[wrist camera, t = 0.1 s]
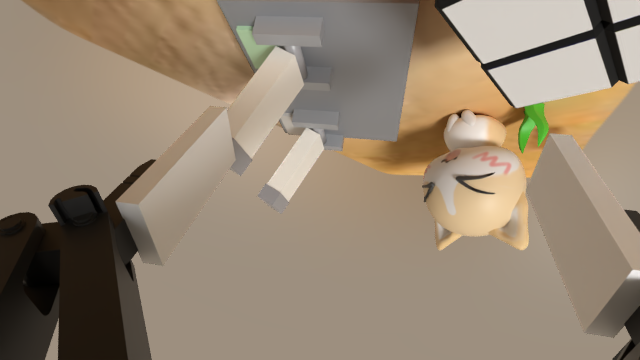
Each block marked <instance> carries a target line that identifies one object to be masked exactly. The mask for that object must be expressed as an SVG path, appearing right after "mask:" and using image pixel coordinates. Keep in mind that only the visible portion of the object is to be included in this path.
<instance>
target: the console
mask: <svg viewBox="0 0 640 360" xmlns="http://www.w3.org/2000/svg"><path fill="white" fill-rule="evenodd" d="M217 2H218V4H219V6H220V8H221V10H222V12H223V14H224V16H225V17H226V19H227V21H228V23H229V25H230V27H231V29H232V31H233V33H234V35H235V37H236V39H237V41H238V42H239V44H240V46H241V48H242V50H243V52H244V54H245V56H246V58H247V60H248V62H249V64H250V66H251V67H252V69H253V71H254V73H256V72H257V70H258V69H259V68H260V66H261V65H262V64H263V62H264V61H265V60H266V58H267V57H268V56H269V54H270V53H271V52H272V50H273V49H274V48H275V46H277V47H279V48H281V49H283V50H285V47H284V46H301V50H302V53H303V57H304V61H305V64H306V68H307V71H308V77H307V78H306V79H305V80H303V82H304V86H303V87H302V89H301V90H300V92H299V93H298V94H297V96H296V97H295V99H294V100H293V101H292V103H291V104H290V105H289V107H288V108H287V110H286V111H285V112H284V114H283V115H282V117H281V118H280V119H279V121H280V123H281V125H282V127H283V129H284V131H285V132H286V133H288V134H291V135H302V133H303V132H304V130H305V129H306V128H309V129H311V130H312V131H313V128H315V129H324V132H325V135H326V139H327V142H326V143H325V144H324V145H323V146H324V150H335V151H342V150H343V143H344V137H345V138H358V139H371V140H384V141H397V136H398V130H399V124H400V118H401V112H402V106H403V99H404V93H405V87H406V81H407V75H408V69H409V62H410V56H411V50H412V44H413V38H414V31H415V25H416V19H417V13H418V7H419V0H217ZM285 51H286V50H285Z"/></svg>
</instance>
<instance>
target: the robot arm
mask: <svg viewBox="0 0 640 360" xmlns="http://www.w3.org/2000/svg"><path fill="white" fill-rule="evenodd" d="M235 160H236V158H235V153H234V147H233V141H232V136H231V130H230V125H229V119H228V114H227V108H225V107H214V106H210V107H209V108H208V109H207V110H206V111H205V112H204V113H203V114H202V115H201V116H200V117H199V118H198V119H197V120H196V121H195V122H194V123H193V124H192V125H191V126H190V127H189V128H188V129H187V130H186V131H185V132H184V133H183V134H182V135H181V136H180V137H179V138H178V139H177V140H176V141H175V142H174V143H173V144H172V145H171V146H170V147H169V148H168V149H167V150H166V151H165V152H164V153H163V154H162V155H161V156H160V157H159V158H158V159H157V160H150V161H148V162H146V163H144V164H142V165H141V166H139V167H138V168H137V169H136V170H135V171H134V172H132V173H131V175H130V176H129V177H127V178H126V179H125V180H124V181H123V183H121V184H120V185H119V186H118V187H117V188H116V189H115V190H114V191H113V192H112V193H111V194H110V195H109V196H108V197H107V198H105V200H102V198H101V196H100V194H99V192H98V190H97V188H96V187H94V186H91V185H80V186H74V187H71V188H68V189H66V190H64V191H62V192H60V193H58V194H57V195H55V196H54V197H53V198H52V199H51V201H50V203H49V207H50V209H51V211H52V212H53V214H54V216H55V217H56V219H57V220H58V222H54V223H45V224H41V222H40V221H39V219H38V218H37V216H36V215H35V214H33V213H29V212H26V213H18V214H14V215H10V216H7V217H5V218H3V219H1V220H0V360H45V357H46V354H47V351H48V348H49V345H50V342H51V339H52V336H53V333H54V330H55V327H56V324H57V321H58V318H59V338H58V340H59V341H58V360H152V359H151V353H150V348H149V343H148V337H147V332H146V327H145V321H144V317H143V311H142V306H141V300H140V295H139V290H138V285H137V279H136V274H135V268H134V265H133V263H132V261H131V259H132V258H133V256H134V255H135V254H136V252H137V251H138V253H139V255H140V257H141V259H142V261H143V263H149V264H155V265H162V266H163V265H164V264H165V262H166V261H167V260H168V258H169V256H170V255H171V254H172V252H173V251H174V249H175V248H176V246H177V245H178V243H179V242H180V241H181V239H182V238H183V236H184V235H185V233H186V232H187V230H188V229H189V227H190V226H191V224H192V223H193V222H194V220H195V218H196V217H197V216H198V214H199V213H200V211H201V210H202V208H203V207H204V205H205V204H206V202H207V201H208V200H209V198H210V197H211V195H212V194H213V192H214V190H215V189H216V187H217V186H218V185H219V184H220V182H221V181H222V179H223V178H224V176H225V175H226V173H227V172H228V170H229V169H230V167H231V166H232V165H233V163H234V162H235ZM526 192H527V194H528V196H529V199H530V201H531V204H532V206H533V209H534V211H535V213H536V216H537V219H538V221H539V223H540V226H541V228H542V231H543V233H544V236H545V238H546V241H547V243H548V246H549V248H550V251H551V253H552V255H553V258H554V260H555V263H556V265H557V268H558V270H559V273H560V275H561V277H562V280H563V283H564V285H565V288H566V290H567V292H568V295H569V297H570V300H571V302H572V305H573V307H574V309H575V312H576V315H577V317H578V319H579V322H580V324H581V327H582V329H583V332H584V333H587V334H594V335H600V336H607V337H613V338H614V337H615V335H617V333H618V332H619V331H620V330H621V329H622V328H623V327H624V326H626V329H627V331H628V333H629V334H630V336H631V338H632V339H631V340H630V341H629V342H628V343H627V344H626V345H625V346H624V347H623V348H622V349H621V351H620V352H619V353H618V354H617V355H616V356H615V357H614V358H613V360H640V214H639V213H638V212H637V211H631V210H624V209H623V208H622V207H621V205H620V204H619V202H618V201H617V199H616V198H615V197H614V195H613V194H612V192H611V191H610V189H609V188H608V187H607V185H606V184H605V182H604V181H603V180H602V178H601V177H600V175H599V174H598V172H597V171H596V170H595V168H594V167H593V165H592V164H591V162H590V161H589V160H588V158H587V157H586V155H585V154H584V152H583V151H582V150H581V148H580V147H579V145H578V144H577V142H576V141H575V140H574V138H573V137H572V135H562V134H549V136H548V139H547V141H546V143H545V146H544V148H543V151H542V153H541V155H540V158H539V160H538V163H537V165H536V167H535V170H534V172H533V174H532V177H531V179H530V182H529V184H528V187H527V189H526Z"/></svg>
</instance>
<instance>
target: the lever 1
mask: <svg viewBox="0 0 640 360" xmlns="http://www.w3.org/2000/svg"><path fill="white" fill-rule="evenodd" d="M284 47H285V50H286V51H285V50H283V49H281V48H279V47H277V46H275V48H274V49H273V50H272V52H271V53H270V54H269V56H268V57H267V58H266V60H265V61H264V62H263V64H262V65H261V66H260V68H259V69H258V70H257V72H256V73H255V74H254V76H253V77H252V78H251V80H250V81H249V82H248V83H247V85H246V86H245V87H244V89H243V90H242V91H241V93H240V94H239V95H238V97H237V98H236V99H235V101H234V102H233V103H232V105H231V106H230V107H229V109H228V110H227V114H228V119H229V125H230V130H231V136H232V141H233V147H234V153H235V158H236V160H235V162H234V163H233V165H232V166H231V167H230V169H231V170H232V171H234V172H236V173H237V174H239V175H240V176H241V175H242V174H243V172H244V171H245V170H246V168H247V167H248V165H249V164H250V162H251V161H252V159H251V158H252V157H253V156H254V154H255V153H256V151H257V150H258V149H259V147H260V146H261V144H262V143H263V142H264V140H265V139H266V137H267V136H268V135H269V133H270V132H271V130H272V129H273V128H274V126H275V125H276V124H277V122H278V121H279V119H280V118H281V117H282V115H283V114H284V112H285V111H286V110H287V108H288V107H289V105H290V104H291V103H292V101H293V100H294V99H295V97H296V96H297V94H298V93H299V92H300V90H301V89H302V87H303V86H304V82H303V80H305V79H306V78H307V77H308V71H307V68H306V64H305V61H304V57H303V53H302V50H301V46H284Z"/></svg>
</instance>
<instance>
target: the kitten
mask: <svg viewBox="0 0 640 360" xmlns="http://www.w3.org/2000/svg"><path fill="white" fill-rule="evenodd" d="M524 108H525V111H524V114H525V118H524V120H523V122H522V124H521V126H520V128H519V133H518V144H519V148H520V150H521V152H522V153H523V151H524V148H525V146H526V143H527V140H528V138H529V135H530V133H531V131H532V130H533V128H534V127H535V125H536V126H537V129H538V147H539V145H540V144H541V142H542V141H543V140H544V138H545V136H546V135H547V132H548V130H549V128H548V123H547V121H546V118H545V116H544V104H542V103H538V104H534V105H529V106H525V107H524ZM505 138H506V128H505V126H504V125H503V124H502V123H501V122H499V121H498V120H496V119H495V118H493V117H490V116H486V115H474V113H473V112H472V111H470V110H464V111H463V112H462V114H461V118H459V116H458V115H457V114H452V115H451V116H450V117H449V119H448V122H447V126H446V128H445V130H444V140H445V143H446V145H447V147H448V149H449V150H450V152H448V153H446V154H444V155H441V156H439V157H437V158H436V159H434V160H433V161H432V162H431V163H430V164H429V165H428V166H427V168H426V170H425V173H424V178H423V179H424V180H423V189H424V196H425V197H424V202H426V204H427V207H428V209H429V211H430V213H431V215H432V216H433V218H434V219H435V238H436V245H437V248H438V249H439V250H442V249H444V248H445V247H446V246H447V245H449V244H451V243H452V242H454V241H455V240H456V239H458V238H459V237H461V236H462V235H464V236H485V235H492V236H494V237H496V238H497V239H500V240H502V241H504V242H506V243H507V244H509V245H511V246H513V247H514V248H517V249H519V250H524V249H526V247H527V246H528V242H529V234H528V202H527V198H526V196H525V194H526V176H525V171H524V168H523V165H522V163H521V161H520V159H519V158H518V157H517V156H516V155H515V154H514V153H513V152H512V151H510V150H508V149H505V148H502V147H501V146H502V144H503V143H504V140H505Z"/></svg>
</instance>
